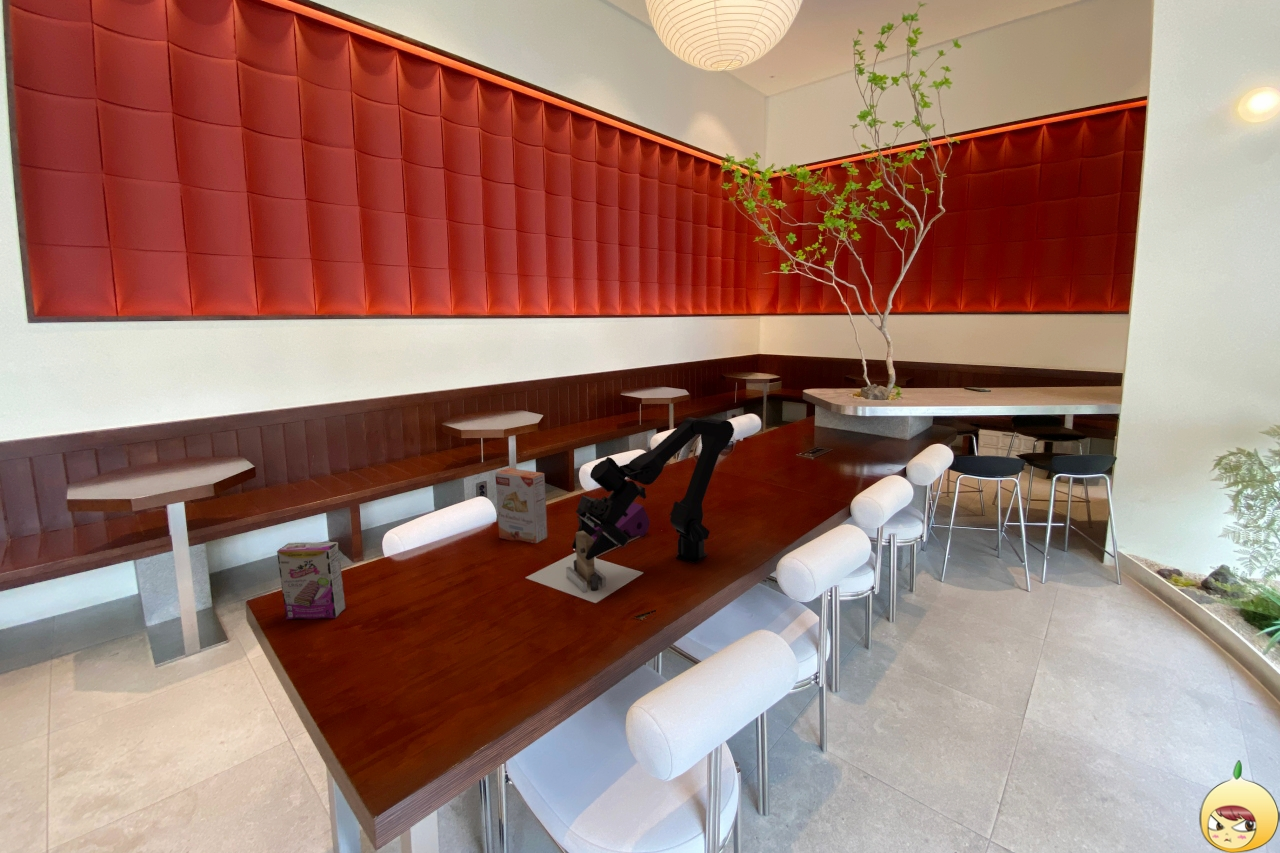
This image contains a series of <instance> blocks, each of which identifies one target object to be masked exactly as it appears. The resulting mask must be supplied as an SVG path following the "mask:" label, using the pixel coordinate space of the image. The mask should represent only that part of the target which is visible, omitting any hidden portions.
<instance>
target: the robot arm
mask: <svg viewBox="0 0 1280 853" xmlns="http://www.w3.org/2000/svg"><path fill="white" fill-rule="evenodd" d="M734 433H735V428H734V425H733V423H732V422H731V421H729V420H727V419H722V418H720V417H719V418H718V417H714V416H712V417H708V418H706V419H701V418H694V417H686V418H684V419H683V421H682V423H681V424H680V425H679V426H678V427H676V428H675V429H674V430H673V431H671V433H669V435H668V436H666V437H665V438H664V439H663V440H662V441H661V442H659V443H658V444H657V445H656V446H655V447H653V449H651V450H649V451H646V452H643V453H640V454H639V455H638V456H637V455H636V457H634V458H633V459H631V460H630V461H629V463H626V464H623V465H619V464H618V463H616V462H617V461H616V460H614V459H613V457H610V456H607V457H606V458H605V459H604V460H601V461H600V462H598V463H597V464H595V465H594V466H593V467H592V469H591V471H590V475H589V476H590V478H591V479H592V480H593V481H594V482H595V483H596V484H597V485H599V486H600V487H601V488H602V489H603V490H605V492H607V493H610V492H611V493H610V494H609V496H608V497H606V496H602V497H601V499H600V498H598V497H596V498H593V497H589V496H586V495H583V494H582V495H581V497H580V500H579V502H578V504H577V509H576V511H575V514H577V517H576V518H577V521H578V528H577V531H576V532H579V531H584V532H585V533H587V534H588V535H590V536H592V535H594V534H595V533H596V532H597V539H596V540H595V542H594V543H593V545H592V546H591V548H590V550H589V551H588V553H587V555H586V556H585V558H586V559H587V560H590V559H592V558H596V557H597V556H600V555H602V554H603V553H605V552H607V551H609V550H611V549H613V548H618V547H619V546H621V547H622V548H625V546H626V545H627V544H628V542H629V535H627V534H626V532H625V531H622V530H620V529H619V528H618V527H617V526H616V524H617V523H618V522H619V520H620V519H621V518H622V516H624V517H627V515H628V514H627V513H626V511H627V510H628V508H629V507H630V506H631V504H632V503H633V502H634V503H635V500H636V499H637V498H638V497H641V499H644V500H645V499H646V498H647V495H646V488H645V487H644V486H643V485H645V486H650V485H652V484H654V483H655V481H656V480H657V479H658V478H659V476H660V475H661V474H662V473H663V470H664V466H665V465H666V463H667V462H668V461H669V460H671V459H672V458H673V457H674V456H675V455H676V454H678V452H679V451H681V450H682V449H683V448H684V447H685V446H686V445H687V444H688V443H690V442H691V441H692V440H693V439H694V438H695V437H696V436H698V435H700V442H701V449H700V452H699V454H698V457H697V461H696V464H695V467H694V470H693V473H692V476H691V477H690V481H689V484H688V487H687V490H686V492H685V494H684V495H685V496H684V497H683V498H682V499H681V500H680V501H679V502H678V501H676V500H675V501H673V502H674V503H673V505H672V508H671V511H670V513H669V516H670V520H669V522H670V523H671V526H672V527H673V528H674V530H675V532H676V533H677V534H678V539H677V555H675V558H676V559H678V560H683V561H687V562H689V563H692V562H694V563H693V564H698V563H699V562H700V561H701V559H702V560H703V559H704V557H705V556H706V557H707V556H708V553H706V552H705V541H706V540H707V539H708V538H709V536H710V530H709V529H708V528H707V527H706V526H704V525H703V519H704V513H703V512H704V511H703V502H704V498H705V497H706V493H707V490H708V488H709V484H710V482H711V479H712V477H713V473H714V470H715V468H716V465H717V462H718V459H719V456H720V454H721V453H722V452H723V451H724V450H725V449H726V448H727V447H728V446H729V444H730V442H731V440H732V439H733V436H734ZM626 478H627V479H629V480H627V479H626ZM636 482H638V483H640V484H641V485H638V484H637V483H636ZM593 527H595V528H596V527H599V528H601V529H602V531H603V533H602V532H600V531H599V530H598V529H597V530H595V529H594V528H593ZM571 548H572V549H574V550H576V536H575V537H574V539H573V543H572V545H571ZM706 557H705V558H706ZM698 561H699V562H698Z"/></svg>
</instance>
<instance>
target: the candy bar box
mask: <svg viewBox="0 0 1280 853" xmlns="http://www.w3.org/2000/svg"><path fill="white" fill-rule="evenodd" d="M339 548H340V546H339V542H338V541H331V542H330V541H329V542H321V541H320V542H288V543H286V544H285V545H284V546H282V547H281V548H279V549H278V550H277V551H276V553H277V560H278V561H277V562H278V570H279V577H280V582H281V590H282V597H283V605H284V606H283V607H284V612H285V619H286V620H305V619H306V620H307V619H308V620H309V619H311V620H312V619H336V618H338V617H339V615H340V614H341V613H342V612H343V611H344V610H345V609H346V602H345V600H346V599H345V592H344V591H345V590H344V584H343V576H342V567H341V566H342V565H341V558H340V557H341V556H340V549H339Z"/></svg>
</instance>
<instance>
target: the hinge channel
mask: <svg viewBox="0 0 1280 853" xmlns="http://www.w3.org/2000/svg"><path fill="white" fill-rule="evenodd" d="M594 568H595V567H594ZM566 577H567V578H568V579H569V580H571V581H572V582H573V583H574V584H575V585H576V586H577V587H578V588H579V589H580V590H581V591H582V592H583V593H584V592H587V581H585V580H584V579H583V578H582V577H581V576H580V575H579V574H578V573H577V560H574V570H573V569H572V568H571V567H570V566H569V567H566ZM590 580H591V591H597V590H598V584H599V585H600V586H601V587H606V577H605V576H604V575H603V574H602V573H601V572H599V571H598V570H597V569H596V568H595V574H592V575H590Z"/></svg>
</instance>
